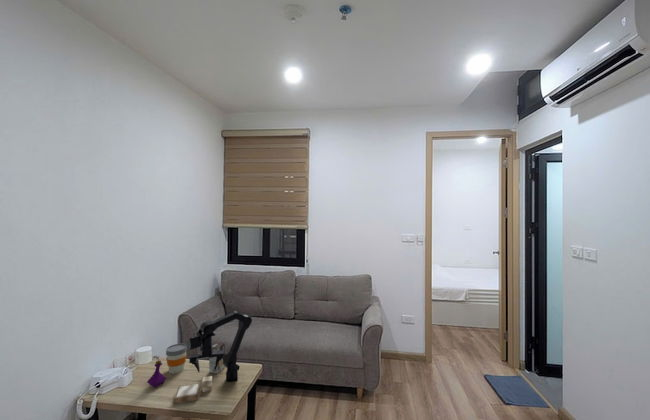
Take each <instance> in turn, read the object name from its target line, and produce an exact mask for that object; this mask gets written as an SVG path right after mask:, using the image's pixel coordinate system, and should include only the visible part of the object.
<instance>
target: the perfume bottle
mask: <svg viewBox="0 0 650 420" xmlns="http://www.w3.org/2000/svg"><path fill="white" fill-rule="evenodd" d="M153 359H156V362H155V364H154V367H155V370H154V372H153V374H152V376H151V377H150V378H149V379H148V380H147V384H148V385H150V386H151V387H152V388H158V387H160V386H162V385H163V383H165V382H166V380H167V377H166V376H164V374H163V373H161V372H160V368H161V366H162V365H163V363H162V360H160V355H159V354H156V355H154V356H153Z"/></svg>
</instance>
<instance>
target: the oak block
mask: <svg viewBox="0 0 650 420" xmlns="http://www.w3.org/2000/svg"><path fill="white" fill-rule="evenodd" d="M201 384H202V386H201V387H202V389H201V391H202V393H204V392H210V391H212V389H213V375H209V376H208V375H207V376H203V378H202V380H201Z"/></svg>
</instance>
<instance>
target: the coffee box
mask: <svg viewBox="0 0 650 420" xmlns="http://www.w3.org/2000/svg"><path fill="white" fill-rule="evenodd" d="M225 344H226V343H225V342H218V341H217V342H215V343H214V344H212V346H213V347H212V348H213V353H212V354H215V353H217V351H221V350H223V351H224V355H225V353H226V347H225ZM208 359H209V360H208V361H209V362H208V363H209V364H208V365H209V367H208V368H209V373H212V374H213V373H215V374H219V373H220V372H221V371H222V370H223V369H224V368H226V367H225V366H224V365H223V360H222V359H221V360H220V361H219V363H218V365H217V368H216V370H215V365H216V357H212V358H208Z"/></svg>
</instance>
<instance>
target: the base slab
mask: <svg viewBox="0 0 650 420" xmlns="http://www.w3.org/2000/svg"><path fill="white" fill-rule="evenodd" d="M201 384H202V382H197V383H192V384H186V385H179V386H177V389H176V392H175V395H174V398H173V402H174V403H173V404H174V405H175V404H176V405H177V404H182V403H187V402H188V403H189V402H194V400H195V401H198V400H199V396H200V393H201V390H202V389H201V387H202V386H201Z"/></svg>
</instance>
